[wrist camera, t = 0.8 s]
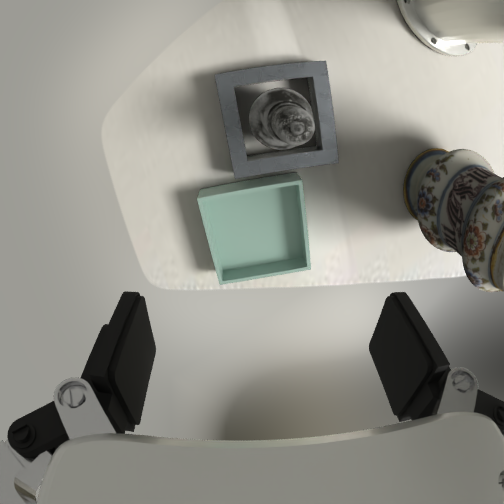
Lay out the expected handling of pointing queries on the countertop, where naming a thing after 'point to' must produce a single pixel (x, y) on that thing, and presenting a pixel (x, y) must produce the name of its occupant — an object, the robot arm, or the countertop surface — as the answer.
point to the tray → (256, 227)
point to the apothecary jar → (460, 210)
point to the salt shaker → (281, 119)
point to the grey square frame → (286, 158)
